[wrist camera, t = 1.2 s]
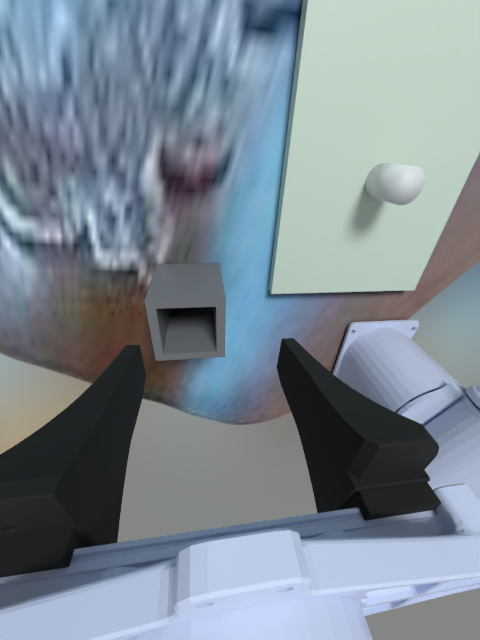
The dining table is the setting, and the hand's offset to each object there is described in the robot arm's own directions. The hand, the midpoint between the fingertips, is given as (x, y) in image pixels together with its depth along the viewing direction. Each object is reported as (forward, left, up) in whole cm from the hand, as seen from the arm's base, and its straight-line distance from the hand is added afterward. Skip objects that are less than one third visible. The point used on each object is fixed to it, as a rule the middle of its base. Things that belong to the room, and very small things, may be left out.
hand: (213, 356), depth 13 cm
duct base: (+7, -13, -10) cm, 18 cm away
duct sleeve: (-2, +1, -10) cm, 11 cm away
